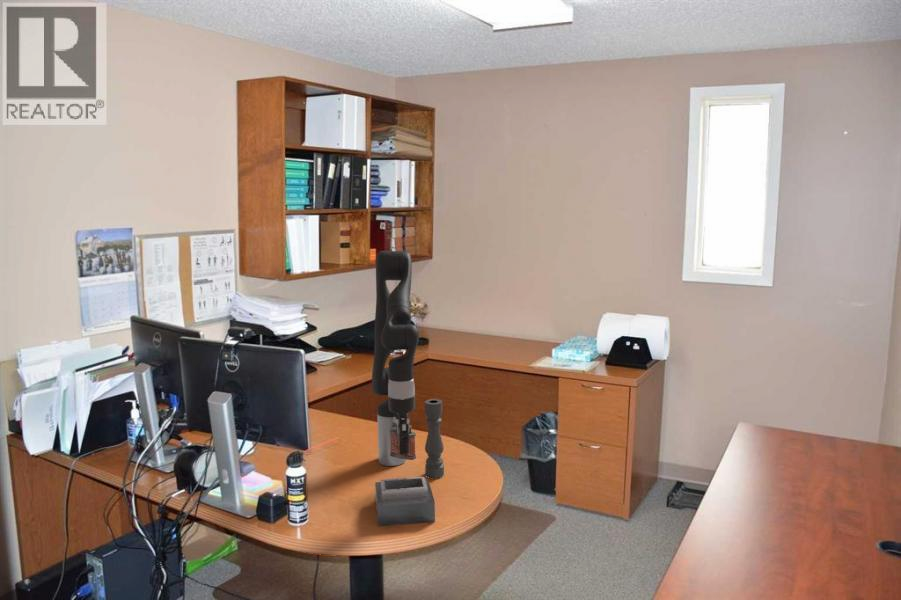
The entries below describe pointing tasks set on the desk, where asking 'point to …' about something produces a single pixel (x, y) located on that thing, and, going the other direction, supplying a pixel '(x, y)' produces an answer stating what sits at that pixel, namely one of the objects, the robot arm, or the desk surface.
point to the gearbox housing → (404, 501)
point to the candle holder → (434, 439)
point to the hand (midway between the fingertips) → (402, 450)
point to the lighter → (396, 447)
